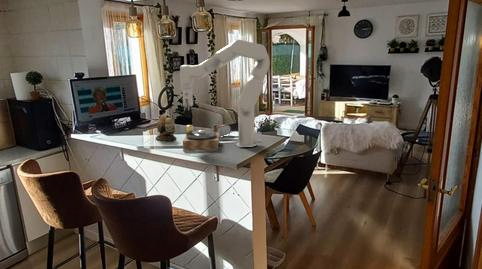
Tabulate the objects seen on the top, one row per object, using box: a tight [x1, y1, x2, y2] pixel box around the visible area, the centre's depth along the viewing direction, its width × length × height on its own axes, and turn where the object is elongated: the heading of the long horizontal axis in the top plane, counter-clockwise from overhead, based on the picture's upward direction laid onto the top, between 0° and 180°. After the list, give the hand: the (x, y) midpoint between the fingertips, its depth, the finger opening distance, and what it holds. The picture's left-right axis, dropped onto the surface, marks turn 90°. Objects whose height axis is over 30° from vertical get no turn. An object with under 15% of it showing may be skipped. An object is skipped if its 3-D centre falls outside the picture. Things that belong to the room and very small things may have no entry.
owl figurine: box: [155, 113, 177, 143], centre depth 228 cm, size 18×12×17 cm, turn 47°
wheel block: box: [182, 133, 220, 152], centre depth 210 cm, size 20×20×6 cm
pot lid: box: [185, 124, 216, 139], centre depth 208 cm, size 18×18×6 cm
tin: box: [213, 123, 232, 137], centre depth 233 cm, size 15×3×8 cm, turn 141°
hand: (188, 115), depth 206 cm, fingers open, 9 cm apart
